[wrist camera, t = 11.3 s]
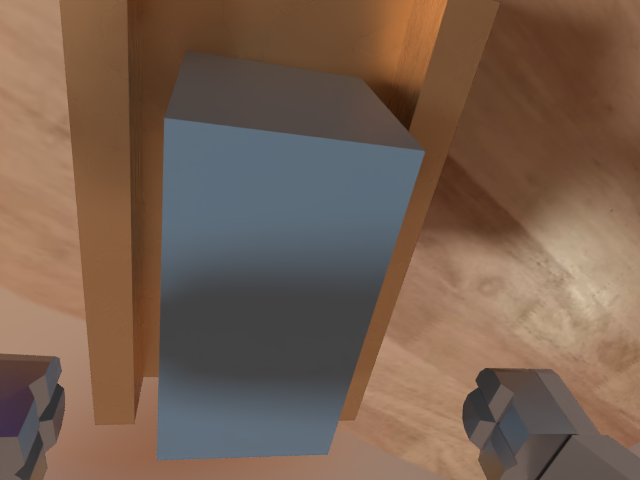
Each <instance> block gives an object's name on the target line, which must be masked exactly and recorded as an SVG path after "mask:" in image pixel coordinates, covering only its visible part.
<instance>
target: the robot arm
mask: <svg viewBox="0 0 640 480" xmlns="http://www.w3.org/2000/svg"><path fill="white" fill-rule="evenodd" d="M61 372H62V370H61V365H60V359H59V358H58V357H55V356H36V355H17V354H0V480H43V479H44V476H45V473H46V470H47V463H46V456H45V452H46V451H48V450H49V449H50V448H51V447H52V446H54V445H55V444H56V442H57V439H58V436H59V433H60V430H61V426H62V421H63V416H64V411H65V394H64V388H63V387H61V386H60V385H59V384H58V383H57V382H58V379H59V377H60V374H61ZM476 383H477V385H478V388H477V389H475V390H474V391H472V392H471V393H470V394H468V396H467V398H466V400H465V402H464V404H463V415H462V419H463V424H464V428H465V431H466V433H467V436H468V438H469V440H470V441H471V442H472V443H473V444H475V445H476V446H477V447H478V448H479V449H480V454H479V458H478V461H479V463H480V465H481V467H482V469H483V472H484V474H485V476H486V478H487V480H640V458H639V457H638V456H636V455H635V454H633V453H632V452H631V451H629V450H628V449H626V448H625V447H624V446H622V445H621V444H619V443H618V442H617V441H615V440H614V439H612V438H611V437H609V436H608V435H601V434H600V433H599V431H598V430H597V428H596V427H595V426H594V424H593V423H592V421H591V420H590V419H589V417H588V416H587V414H586V413H585V412H584V410H583V409H582V407H581V406H580V405H579V403H578V402H577V400H576V399H575V398H574V396H573V395H572V393H571V392H570V391H569V389H568V388H567V386H566V385H565V384H564V382H563V381H562V379H561V378H560V377H559V375H558V374H557V373H555V372H554V371H553V370H551V369H523V368H485V369H484V370H482V371H481V372H480V373H479V375H478V377H477V378H476Z"/></svg>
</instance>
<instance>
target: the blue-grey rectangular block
mask: <svg viewBox="0 0 640 480" xmlns="http://www.w3.org/2000/svg"><path fill="white" fill-rule="evenodd" d="M424 154H425V150H424V149H423V148H422V147H421V145H420V144H419V143H418V142H417V141H416V140H415V139H414V137H413V136H412V135H411V134H410V133H409V132H408V131H407V130H406V128H405V127H404V126H403V125H402V124H401V123H400V122H399V120H398V119H397V118H396V117H395V116H394V115H393V114H392V112H391V111H390V110H389V109H388V108H387V107H386V106H385V105H384V103H383V102H382V101H381V100H380V99H379V98H378V97H377V95H376V94H375V93H374V92H373V91H372V90H371V89H370V88H369V86H368V85H367V84H366V83H365V82H364V81H363V80H362V78H358V77H351V76H345V75H339V74H333V73H327V72H320V71H314V70H308V69H302V68H295V67H289V66H283V65H277V64H270V63H264V62H258V61H252V60H245V59H239V58H233V57H227V56H221V55H214V54H208V53H202V52H196V51H189V50H186V52H185V55H184V59H183V62H182V65H181V68H180V71H179V74H178V77H177V80H176V83H175V86H174V90H173V93H172V96H171V99H170V102H169V105H168V108H167V111H166V114H165V117H164V156H163V202H162V248H161V294H160V340H159V388H158V433H157V437H158V438H157V460H184V459H212V458H241V457H269V456H270V457H271V456H298V455H299V456H300V455H327V454H328V451H329V449H330V446H331V442H332V439H333V436H334V433H335V430H336V427H337V424H338V421H339V418H340V415H341V411H342V408H343V405H344V402H345V399H346V396H347V393H348V390H349V387H350V384H351V380H352V377H353V374H354V371H355V368H356V365H357V362H358V359H359V356H360V353H361V349H362V346H363V343H364V340H365V337H366V334H367V331H368V328H369V325H370V322H371V318H372V315H373V312H374V309H375V306H376V303H377V300H378V297H379V294H380V290H381V287H382V284H383V281H384V278H385V275H386V272H387V269H388V266H389V263H390V259H391V256H392V253H393V250H394V247H395V244H396V241H397V238H398V235H399V232H400V228H401V225H402V222H403V219H404V216H405V213H406V210H407V207H408V204H409V201H410V197H411V194H412V191H413V188H414V185H415V182H416V179H417V176H418V173H419V169H420V166H421V163H422V160H423V157H424Z"/></svg>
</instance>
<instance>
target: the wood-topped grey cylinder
mask: <svg viewBox="0 0 640 480" xmlns="http://www.w3.org/2000/svg"><path fill="white" fill-rule="evenodd" d="M500 3H501V2H498V1H494V0H60V12H61V24H62V36H63V48H64V60H65V71H66V83H67V95H68V107H69V119H70V131H71V143H72V155H73V167H74V179H75V191H76V203H77V215H78V227H79V239H80V251H81V263H82V275H83V287H84V299H85V311H86V323H87V334H88V345H89V346H88V347H89V357H90V370H91V382H92V394H93V406H94V418H95V425H110V424H111V425H113V424H135V419H136V413H137V408H138V402H139V397H140V392H141V386H142V381H143V377H159V340H160V294H161V248H162V202H163V156H164V117H165V114H166V111H167V108H168V105H169V102H170V99H171V96H172V93H173V90H174V86H175V83H176V80H177V77H178V74H179V71H180V68H181V65H182V62H183V59H184V55H185V52H186V50H189V51H196V52H202V53H208V54H214V55H221V56H227V57H233V58H239V59H245V60H252V61H258V62H264V63H270V64H277V65H283V66H289V67H295V68H302V69H308V70H314V71H320V72H327V73H333V74H339V75H345V76H351V77H358V78H362V80H363V81H364V82H365V83H366V84H367V85H368V86H369V88H370V89H371V90H372V91H373V92H374V93H375V94H376V95H377V97H378V98H379V99H380V100H381V101H382V102H383V103H384V105H385V106H386V107H387V108H388V109H389V110H390V111H391V112H392V114H393V115H394V116H395V117H396V118H397V119H398V120H399V122H400V123H401V124H402V125H403V126H404V127H405V128H406V130H407V131H408V132H409V133H410V134H411V135H412V136H413V137H414V139H415V140H416V141H417V142H418V143H419V144H420V145H421V147H422V148H423V149H424V150H425V154H424V157H423V160H422V163H421V166H420V169H419V173H418V176H417V179H416V182H415V185H414V188H413V191H412V194H411V197H410V201H409V204H408V207H407V210H406V213H405V216H404V219H403V222H402V225H401V228H400V232H399V235H398V238H397V241H396V244H395V247H394V250H393V253H392V256H391V259H390V263H389V266H388V269H387V272H386V275H385V278H384V281H383V284H382V287H381V290H380V294H379V297H378V300H377V303H376V306H375V309H374V312H373V315H372V318H371V322H370V325H369V328H368V331H367V334H366V337H365V340H364V343H363V346H362V349H361V353H360V356H359V359H358V362H357V365H356V368H355V371H354V374H353V377H352V380H351V384H350V387H349V390H348V393H347V396H346V399H345V402H344V405H343V408H342V411H341V415H340V418H339V421H341V420H355V418H356V415H357V413H358V410H359V407H360V404H361V401H362V398H363V395H364V393H365V390H366V387H367V384H368V381H369V378H370V375H371V372H372V370H373V367H374V364H375V361H376V358H377V355H378V352H379V350H380V347H381V344H382V341H383V338H384V335H385V332H386V329H387V327H388V324H389V321H390V318H391V315H392V312H393V309H394V307H395V304H396V301H397V298H398V295H399V292H400V289H401V286H402V284H403V281H404V278H405V275H406V272H407V269H408V266H409V263H410V261H411V258H412V255H413V252H414V249H415V246H416V243H417V241H418V238H419V235H420V232H421V229H422V226H423V223H424V220H425V218H426V215H427V212H428V209H429V206H430V203H431V200H432V198H433V195H434V192H435V189H436V186H437V183H438V180H439V177H440V175H441V172H442V169H443V166H444V163H445V160H446V157H447V155H448V152H449V149H450V146H451V143H452V140H453V137H454V134H455V132H456V129H457V126H458V123H459V120H460V117H461V114H462V111H463V109H464V106H465V103H466V100H467V97H468V94H469V91H470V89H471V86H472V83H473V80H474V77H475V74H476V71H477V68H478V66H479V63H480V60H481V57H482V54H483V51H484V48H485V46H486V43H487V40H488V37H489V34H490V31H491V28H492V25H493V23H494V20H495V17H496V14H497V11H498V8H499V5H500Z"/></svg>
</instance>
